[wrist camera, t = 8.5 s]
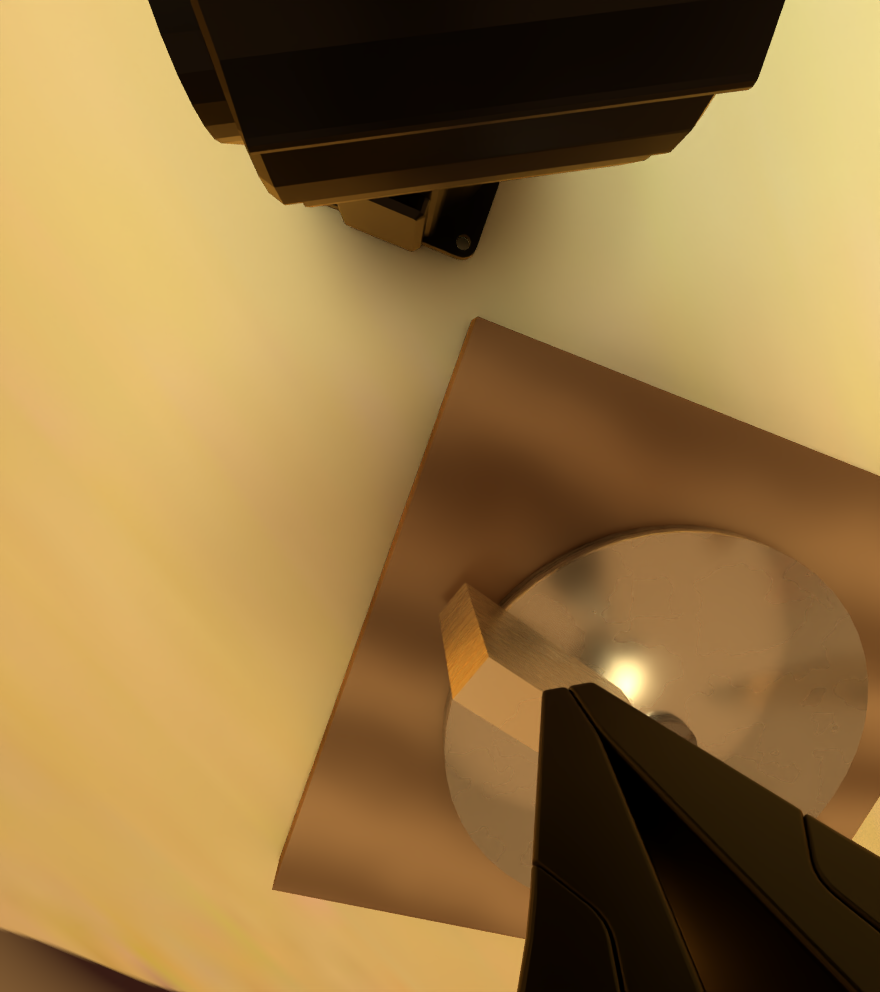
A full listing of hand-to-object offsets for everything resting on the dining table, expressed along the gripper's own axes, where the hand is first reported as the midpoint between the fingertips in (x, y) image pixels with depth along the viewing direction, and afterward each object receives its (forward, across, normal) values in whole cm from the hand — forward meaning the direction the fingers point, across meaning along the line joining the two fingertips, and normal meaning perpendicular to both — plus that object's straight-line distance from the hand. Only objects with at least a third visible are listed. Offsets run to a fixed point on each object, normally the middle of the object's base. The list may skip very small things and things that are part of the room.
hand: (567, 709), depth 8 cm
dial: (+11, -7, +11) cm, 17 cm away
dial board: (+13, -6, +11) cm, 18 cm away
